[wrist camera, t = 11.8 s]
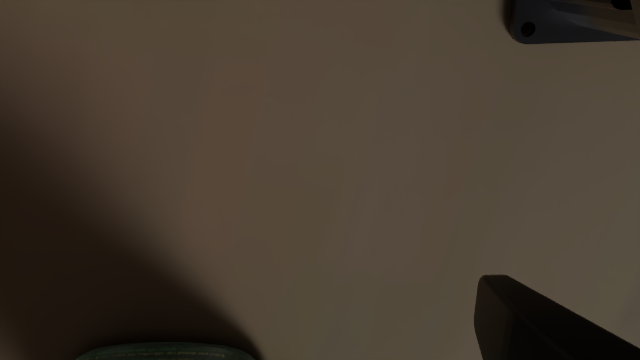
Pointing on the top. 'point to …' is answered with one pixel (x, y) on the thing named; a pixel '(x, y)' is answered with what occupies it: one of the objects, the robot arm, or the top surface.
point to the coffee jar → (166, 352)
